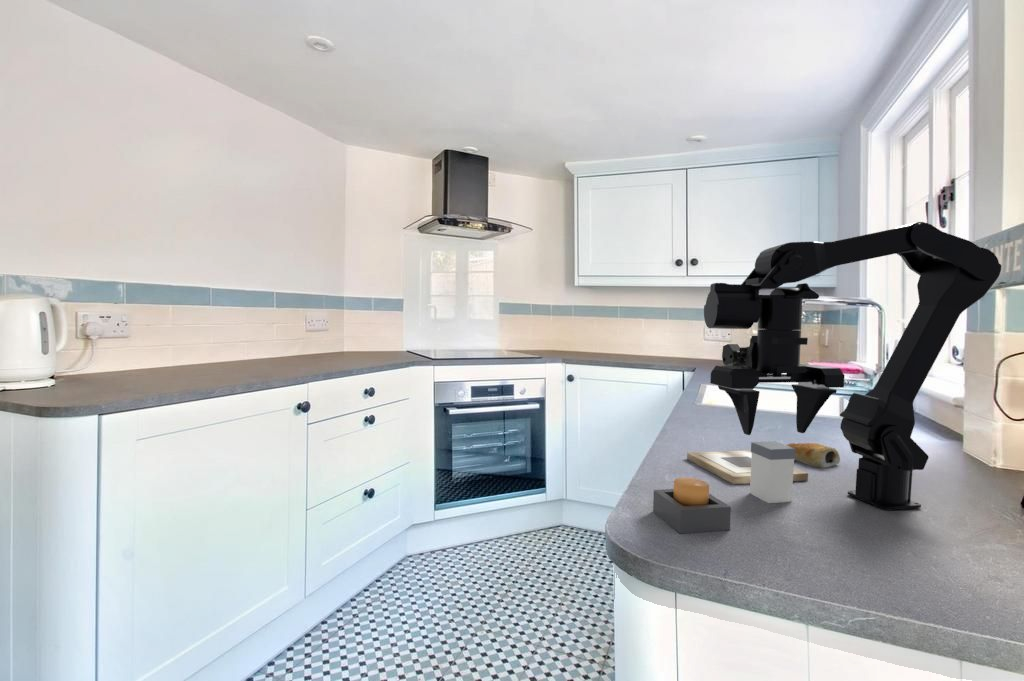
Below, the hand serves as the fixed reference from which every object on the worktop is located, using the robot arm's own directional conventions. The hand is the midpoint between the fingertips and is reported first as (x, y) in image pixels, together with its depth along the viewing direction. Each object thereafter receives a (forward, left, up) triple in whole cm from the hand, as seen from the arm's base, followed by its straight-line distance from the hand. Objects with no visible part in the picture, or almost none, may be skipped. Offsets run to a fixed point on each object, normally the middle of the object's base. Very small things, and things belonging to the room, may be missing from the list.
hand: (774, 433), depth 74 cm
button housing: (+17, +6, -10) cm, 21 cm away
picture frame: (-5, -13, -10) cm, 17 cm away
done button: (+17, +6, -7) cm, 19 cm away
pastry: (-22, -16, -10) cm, 29 cm away
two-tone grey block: (0, 0, -10) cm, 10 cm away
